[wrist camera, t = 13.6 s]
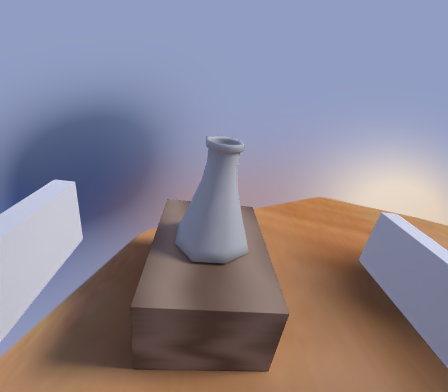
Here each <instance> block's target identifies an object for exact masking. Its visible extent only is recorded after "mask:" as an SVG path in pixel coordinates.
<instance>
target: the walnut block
mask: <svg viewBox="0 0 448 392" xmlns="http://www.w3.org/2000/svg"><path fill="white" fill-rule="evenodd" d="M190 203H191V201H181V200H170V199H167V202H166V205H165V208H164V210H163V213H162V216H161V219H160V222H159V225H158V228H157V231H156V234H155V237H154V240H153V243H152V245H151V248H150V251H149V254H148V257H147V260H146V263H145V266H144V269H143V272H142V275H141V278H140V281H139V284H138V286H137V289H136V292H135V295H134V298H133V301H132V304H131V307H130V309H131V331H132V353H133V369H160V370H226V371H269V368H270V365H271V363H272V360H273V357H274V354H275V352H276V349H277V346H278V343H279V341H280V338H281V335H282V332H283V330H284V327H285V324H286V321H287V319H288V316H289V312H288V309H287V306H286V303H285V300H284V297H283V294H282V292H281V289H280V286H279V283H278V280H277V277H276V274H275V271H274V268H273V265H272V263H271V260H270V257H269V254H268V251H267V248H266V245H265V242H264V239H263V236H262V234H261V231H260V228H259V225H258V222H257V219H256V216H255V213H254V210H253V208H252V207H245V206H240V207H241V213H242V219H243V224H244V229H245V234H246V240H247V245H248V251H249V252H248V253H246V254H244V255H242V256H240V257H238V258H236V259H234V260H232V261H230V262H228V263H226V264H225V263H208V262H192V261H191V260H190V259H189V257H188V256H187V255H186V254H185V253H184V252H183V251H182V250H181V249H180V248H179V247H178V246H177V245H176V244H175V241H176V236H177V230H178V226H179V224H180V222H181V220H182V218H183V216H184V214H185V212H186V210H187V208H188V206H189V205H190Z"/></svg>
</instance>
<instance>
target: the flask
mask: <svg viewBox="0 0 448 392" xmlns="http://www.w3.org/2000/svg"><path fill="white" fill-rule="evenodd" d="M206 146H207V147H208V148H209V150H208V158H207V163H206V166H205V170H204V174H203V177H202V180H201V182H200V184H199V186H198V188H197V190H196V192H195V194H194V196H193V199H192V201H191V203H190V205H189V206H188V208H187V210H186V212H185V214H184V216H183V218H182V220H181V222H180V224H179V226H178V230H177V236H176V241H175V244H176V245H177V246H178V247H179V248H180V249H181V250H182V251H183V252H184V253H185V254H186V255H187V256H188V257H189V259H190V260H191V261H192V262H208V263H225V264H226V263H228V262H230V261H232V260H234V259H236V258H238V257H240V256H242V255H244V254H246V253H248V252H249V251H248V245H247V240H246V234H245V229H244V224H243V219H242V213H241V207H240V201H239V195H238V182H237V181H238V180H237V179H238V178H237V168H238V161H239V156H240V152H243V151H244V148H245V145H244V143H243V142H242V141H240V140H237V139H234V138H230V137H222V136H211V137H210V136H209V137H206Z"/></svg>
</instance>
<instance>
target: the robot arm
mask: <svg viewBox="0 0 448 392" xmlns="http://www.w3.org/2000/svg"><path fill="white" fill-rule="evenodd" d="M82 239H83V236H82V230H81V222H80V215H79V207H78V201H77V193H76V186H75V182H72V181H62V180H53V181H51V182H50V183H48V184H47V185H45V186H44V187H42V188H41V189H39V190H37V191H36V192H34V193H33V194H31V195H30V196H28V197H27V198H25V199H23V200H22V201H20V202H19V203H17V204H16V205H14V206H12V207H11V208H9V209H8V210H6V211H5V212H3V213H2V214H0V342H1V341H2V340H3V338H4V337H5V336H6V335H7V334H8V332H9V331H10V330H11V329H12V327H13V326H14V325H15V324H16V322H17V321H18V320H19V318H20V317H21V316H22V315H23V313H24V312H25V311H26V310H27V308H28V307H29V306H30V305H31V303H32V302H33V301H34V300H35V298H36V297H37V296H38V295H39V293H40V292H41V291H42V290H43V288H44V287H45V286H46V285H47V283H48V282H49V281H50V280H51V278H52V277H53V276H54V275H55V273H56V272H57V271H58V270H59V268H60V267H61V266H62V265H63V263H64V262H65V261H66V260H67V258H68V257H69V256H70V255H71V253H72V252H73V251H74V250H75V248H76V247H77V246H78V245H79V243H80V242H81V241H82ZM359 261H360V263H361V264H362V265H363V266H364V267H365V269H366V270H367V271H368V272H369V273H370V275H371V276H372V277H373V278H374V280H375V281H376V282H377V283H378V284H379V286H380V287H381V288H382V289H383V290H384V292H385V293H386V294H387V295H388V297H389V298H390V299H391V300H392V301H393V303H394V304H395V305H396V306H397V307H398V309H399V310H400V311H401V312H402V314H403V315H404V316H405V317H406V318H407V320H408V321H409V322H410V323H411V324H412V326H413V327H414V328H415V329H416V331H417V332H418V333H419V334H420V335H421V337H422V338H423V339H424V340H425V341H426V343H427V344H428V345H429V346H430V348H431V349H432V350H433V351H434V352H435V354H436V355H437V356H438V357H439V358H440V360H441V361H442V362H443V363H444V365H445V366H446V367H447V368H448V250H446V249H445V248H443V247H442V246H441V245H439V244H438V243H436V242H435V241H434V240H432V239H431V238H429V237H428V236H427V235H425V234H424V233H423V232H421V231H420V230H418V229H417V228H416V227H414V226H413V225H411V224H410V223H409V222H407V221H406V220H404V219H403V218H402V217H400V216H399V215H397V214H392V213H382V212H381V214H380V216H379V218H378V220H377V222H376V225H375V227H374V229H373V231H372V233H371V235H370V237H369V239H368V241H367V243H366V246H365V248H364V250H363V252H362V254H361V256H360V258H359Z"/></svg>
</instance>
